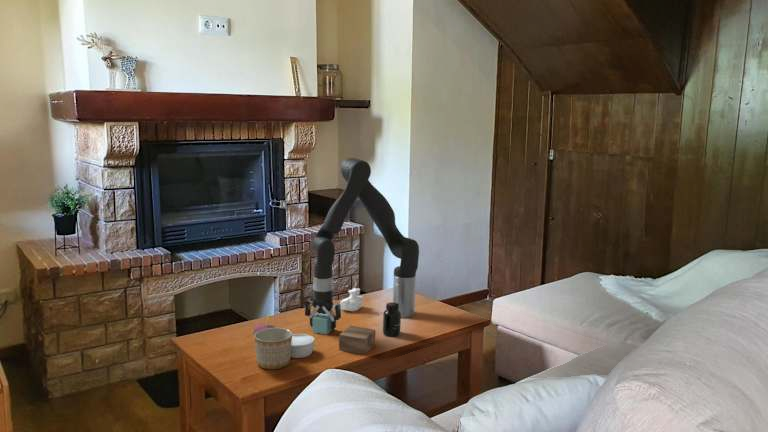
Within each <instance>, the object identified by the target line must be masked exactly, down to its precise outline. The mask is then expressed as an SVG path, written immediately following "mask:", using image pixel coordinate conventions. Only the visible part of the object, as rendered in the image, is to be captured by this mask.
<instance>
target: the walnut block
mask: <svg viewBox="0 0 768 432" xmlns="http://www.w3.org/2000/svg"><path fill="white" fill-rule="evenodd" d="M374 346H376V329H373V328H372V329H371V328H367V327H361V326H354V325H350V326H348V327H347V328H346V329H345V330H343V331H342V332H341V333H340V334H339V335H338V350H339V351H343V352H349V353H352V354H353V353H354V354H359V355H366V354H367V353H368V352H369V351H370V350H371V349H372V348H373V347H374Z"/></svg>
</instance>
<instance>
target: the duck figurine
mask: <svg viewBox="0 0 768 432" xmlns="http://www.w3.org/2000/svg"><path fill="white" fill-rule="evenodd" d="M347 291H348V293H349V297H347V298H344V299H342V300H341V301H340V302H339V304H340V307H341V311H347V312H348V311H349V312H357V311H358V310H359V309H361V308H362V305H363V304H364V301H365V298H364V297H363V295H360V294H361V288H357V287H353V288H352V289H348V290H347Z"/></svg>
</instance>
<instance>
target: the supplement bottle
mask: <svg viewBox="0 0 768 432" xmlns="http://www.w3.org/2000/svg"><path fill="white" fill-rule="evenodd" d="M385 304H386V305H385V310H384V311H383V315H382V316H383V317H382V334H383V335H384V336H385V337H398V336H399V335H400V334H401V324H402V323H401V312H400V311H399V310H398V309H399V304H398V303H394V302H393V301H392V302H391V301H390V302H386V303H385Z"/></svg>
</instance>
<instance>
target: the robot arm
mask: <svg viewBox="0 0 768 432" xmlns="http://www.w3.org/2000/svg"><path fill="white" fill-rule="evenodd" d="M371 169H372V168H371V166H370V164H369V162H367V161H365V160H363V159H359V158H355V157H348V158H346V159H344V160H343V161H342V163H341V166H340V173H341V176H342V178H343V179H344V180H345V181H346V183H347V184H346V187H345V189H343V192H342V193H341V194H340V196H339V197H338V198H337V199H336V200H335V201H334V203H332V206H331V207H330V209H329V210H328V212H327V215H326V216H325V219H324V221H323V224H322V226H320V228H319V230H318V231H317V232H316V234H315V236H314V237H313V239H312V242H311V248H312V250H313V252H314V253H316V254H317V257H316V262H315V263H314V266H313V281H312V283H313V284H312V297H313V298H312V299H313V300H311V299H307V300H306V301H305V308H304V316H305V317H308V318H309V326H310V327H311V328H313V317H314V316H316V315H317V314H318V313H319V314H320V313H322V314H327V315H328V317H330V319H331V320H332V321H331V331H334V330H335V329H336V327H337V321H338V320H340V319H341V318H342V312H341V311H342V310H341V307H340V302H339V303H337V304H336V303H334V302H333V297H334V293H333V291H334V287H333V286H334V285H333V283H334V282H333V264H334V260H335V254H336V253H335V252H336V247H335V243H334V242H333V241H332V240H333V239H334V236H335V235H338V234H340V232H341V230H342V228H343V226H344V223H345V221H346V219H347V216H348V215H349V212H350V210H351V209H352V206H353V205H354V203H355V202H356V200H357V198H358V199H359V200H360V202H361V204H362V206H363V208H364V209H365V210H366V212H367V214H368V215H369V217H370V218H371V220H372V221H373V224H375V226H376V228H377V229H378V230H379V232H380V233H381V235H382V236H383V238H384V240H385V243H386V244H387V247H388V249H389V250H390V252H391V254H392V256H394V257H395V258H398V259H400V265H398V266H396V267H394V269H393V285H392V286H393V289H392V290H393V292H392V293H393V296H392V302H394V303H398V304H399V309H398V310H399V311H400V312H401V318H412V317H414V316H415V306H416V277H417V276H416V275H417V270H418V268H419V260H420V259H419V258H420V257H419V256H420V246H419V244H418V243H419V242H417V240H415V239H413V238H410V237H406V236H404V235H403V234H402V233H401V231H400V230H399V228H398V227H397V224H396V214H395V211H394V210H393V207H392V206H391V204H390V203H389V200H388V199H387V198H386V197H385V196H384V195H383V194H382V193H381V192H380V191H379V190H378V189H377V188H376V187H375V186H374V185H373V184H372V182H370V180H369V179H370V177H371V173H372V170H371ZM311 307H313V308H314V309H313V310H312V308H311ZM311 310H312V311H311ZM334 311H335V312H334Z"/></svg>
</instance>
